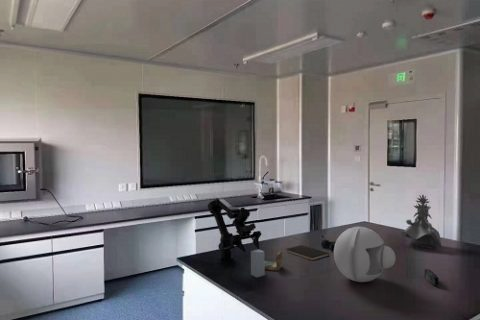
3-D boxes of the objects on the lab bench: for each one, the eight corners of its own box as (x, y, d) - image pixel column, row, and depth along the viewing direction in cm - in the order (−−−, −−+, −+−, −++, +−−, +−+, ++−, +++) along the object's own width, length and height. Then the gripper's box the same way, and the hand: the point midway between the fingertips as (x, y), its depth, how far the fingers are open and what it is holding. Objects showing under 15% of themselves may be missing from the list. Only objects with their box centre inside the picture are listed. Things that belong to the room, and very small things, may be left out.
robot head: (390, 297, 163) (390, 237, 162) (326, 284, 179) (326, 230, 178) (399, 277, 187) (400, 225, 186) (342, 267, 203) (342, 219, 202)
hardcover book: (311, 261, 217) (311, 257, 217) (285, 252, 235) (285, 248, 235) (329, 256, 226) (329, 252, 226) (302, 248, 245) (302, 244, 245)
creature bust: (442, 244, 248) (443, 194, 246) (440, 253, 228) (441, 198, 227) (405, 239, 261) (405, 192, 259) (400, 247, 241) (400, 196, 240)
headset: (317, 233, 243) (339, 233, 251) (315, 247, 243) (338, 246, 251) (329, 238, 231) (352, 237, 239) (327, 252, 231) (351, 251, 239)
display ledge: (258, 268, 204) (258, 252, 203) (262, 263, 211) (262, 248, 211) (278, 270, 199) (278, 254, 199) (282, 266, 207) (282, 250, 206)
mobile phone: (423, 268, 188) (435, 278, 173) (429, 268, 188) (441, 278, 173) (423, 277, 188) (435, 288, 173) (429, 277, 188) (441, 288, 173)
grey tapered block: (250, 274, 194) (250, 251, 193) (259, 272, 197) (259, 249, 196) (256, 277, 190) (256, 253, 189) (264, 275, 193) (264, 251, 192)
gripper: (232, 220, 196) (243, 245, 187) (259, 216, 206) (271, 239, 197) (225, 232, 203) (235, 256, 194) (251, 227, 213) (263, 250, 204)
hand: (252, 250), depth 197 cm, fingers open, 9 cm apart
